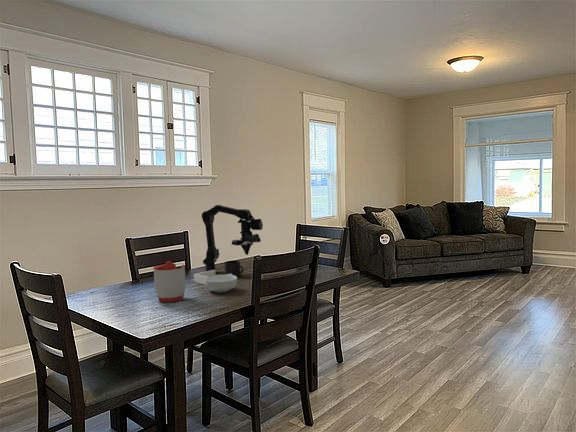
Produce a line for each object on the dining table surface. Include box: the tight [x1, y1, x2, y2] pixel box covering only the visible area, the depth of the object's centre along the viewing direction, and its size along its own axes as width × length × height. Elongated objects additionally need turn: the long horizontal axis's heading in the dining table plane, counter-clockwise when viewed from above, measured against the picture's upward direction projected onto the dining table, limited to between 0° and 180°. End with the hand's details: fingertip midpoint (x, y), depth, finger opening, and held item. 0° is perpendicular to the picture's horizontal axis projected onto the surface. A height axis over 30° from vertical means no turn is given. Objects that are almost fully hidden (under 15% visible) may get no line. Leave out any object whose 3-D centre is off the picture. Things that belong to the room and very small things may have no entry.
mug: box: [224, 260, 244, 279], centre depth 275 cm, size 9×12×9 cm
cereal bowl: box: [205, 273, 238, 294], centre depth 242 cm, size 17×17×7 cm
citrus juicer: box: [152, 260, 186, 303], centre depth 228 cm, size 16×17×20 cm
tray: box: [193, 269, 232, 286], centre depth 264 cm, size 18×14×4 cm
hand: (246, 254), depth 281 cm, fingers closed
